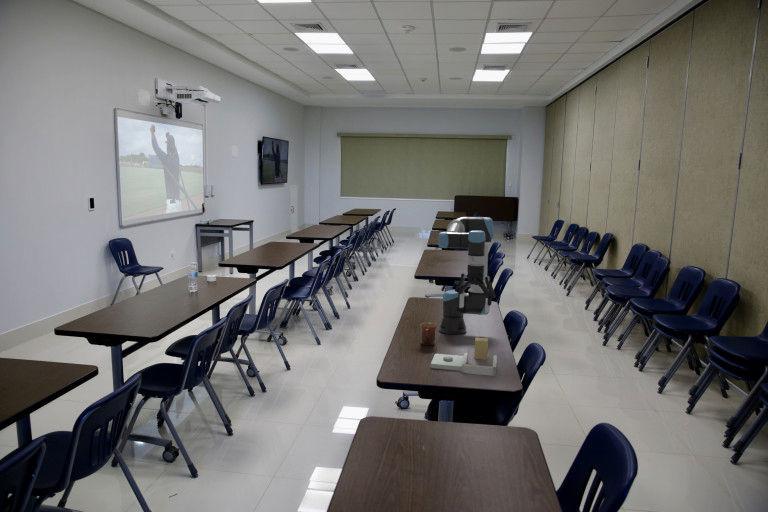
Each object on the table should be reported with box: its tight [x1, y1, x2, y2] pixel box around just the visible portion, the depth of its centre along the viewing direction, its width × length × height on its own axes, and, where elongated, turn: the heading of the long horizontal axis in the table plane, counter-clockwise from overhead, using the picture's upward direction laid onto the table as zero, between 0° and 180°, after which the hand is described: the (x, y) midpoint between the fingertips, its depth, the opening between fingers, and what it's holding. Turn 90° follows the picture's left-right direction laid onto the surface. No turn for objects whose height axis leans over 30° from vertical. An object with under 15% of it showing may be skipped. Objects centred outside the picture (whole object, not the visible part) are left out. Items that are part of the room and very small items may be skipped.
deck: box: [430, 352, 498, 377], centre depth 231 cm, size 17×29×4 cm, turn 76°
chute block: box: [473, 337, 489, 361], centre depth 242 cm, size 5×6×9 cm
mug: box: [419, 322, 437, 346], centre depth 260 cm, size 12×9×10 cm
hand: (474, 309), depth 233 cm, fingers open, 13 cm apart
